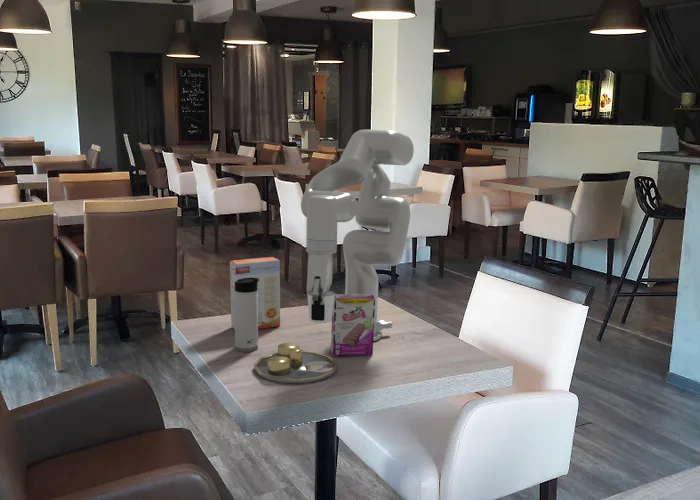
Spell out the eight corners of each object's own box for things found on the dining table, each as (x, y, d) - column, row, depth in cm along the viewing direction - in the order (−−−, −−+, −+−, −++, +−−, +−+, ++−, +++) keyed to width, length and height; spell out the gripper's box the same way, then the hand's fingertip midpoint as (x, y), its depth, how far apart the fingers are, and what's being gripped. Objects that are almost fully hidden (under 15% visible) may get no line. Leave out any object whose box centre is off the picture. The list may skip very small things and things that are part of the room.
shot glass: (301, 321, 172) (302, 293, 171) (314, 314, 178) (315, 288, 177) (326, 325, 169) (327, 297, 168) (338, 318, 176) (339, 291, 174)
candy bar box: (333, 357, 186) (334, 298, 183) (330, 351, 191) (331, 293, 188) (373, 355, 188) (375, 297, 185) (370, 349, 193) (371, 292, 190)
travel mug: (254, 353, 188) (254, 281, 184) (231, 351, 189) (230, 279, 186) (262, 345, 194) (262, 276, 190) (239, 343, 195) (239, 274, 192)
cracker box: (273, 321, 217) (273, 256, 212) (280, 327, 211) (280, 259, 207) (230, 327, 210) (229, 259, 206) (236, 332, 205) (235, 263, 201)
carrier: (320, 351, 191) (320, 333, 190) (349, 378, 172) (349, 359, 171) (245, 359, 183) (245, 341, 182) (266, 389, 164) (266, 369, 163)
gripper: (313, 238, 179) (312, 306, 183) (299, 251, 162) (298, 325, 166) (341, 240, 178) (340, 307, 182) (330, 253, 161) (329, 327, 165)
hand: (320, 315), depth 174 cm, fingers closed on shot glass, 6 cm apart
